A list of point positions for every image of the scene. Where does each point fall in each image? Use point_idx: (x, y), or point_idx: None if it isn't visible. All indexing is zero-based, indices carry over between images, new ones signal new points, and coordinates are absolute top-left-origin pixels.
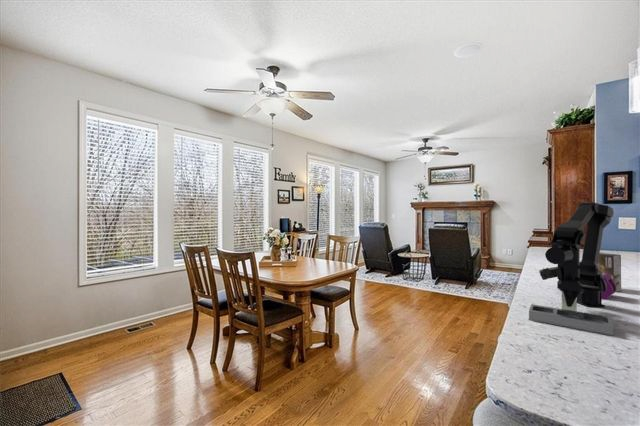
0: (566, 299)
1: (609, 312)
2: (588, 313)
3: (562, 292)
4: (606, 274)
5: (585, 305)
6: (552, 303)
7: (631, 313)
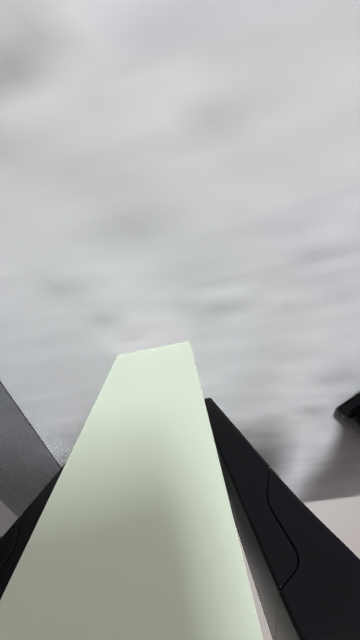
0: (50, 490)
1: (290, 465)
2: (15, 518)
3: (10, 591)
4: None
5: (350, 403)
6: (312, 262)
7: (322, 496)
